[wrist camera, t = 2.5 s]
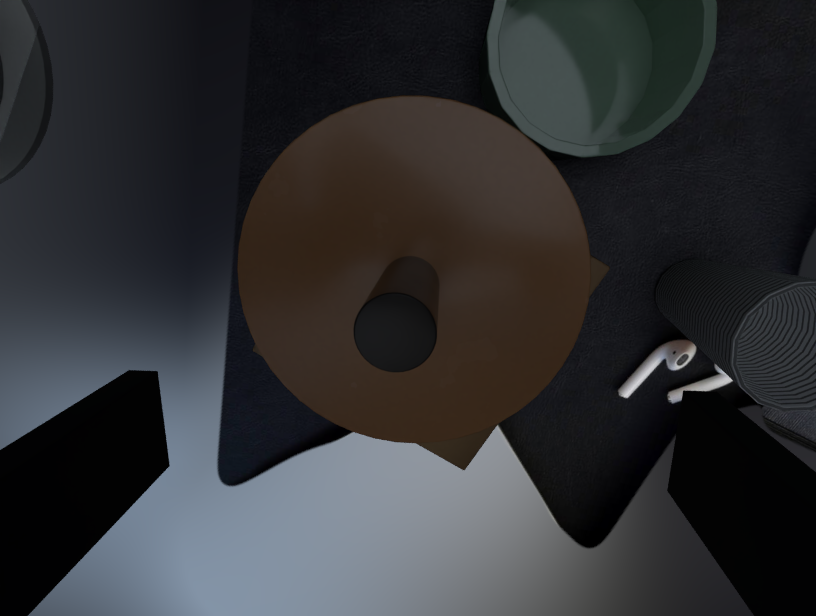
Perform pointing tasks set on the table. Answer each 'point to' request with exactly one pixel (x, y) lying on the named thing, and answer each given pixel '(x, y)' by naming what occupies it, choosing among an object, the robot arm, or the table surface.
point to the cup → (748, 326)
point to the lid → (414, 269)
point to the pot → (594, 69)
